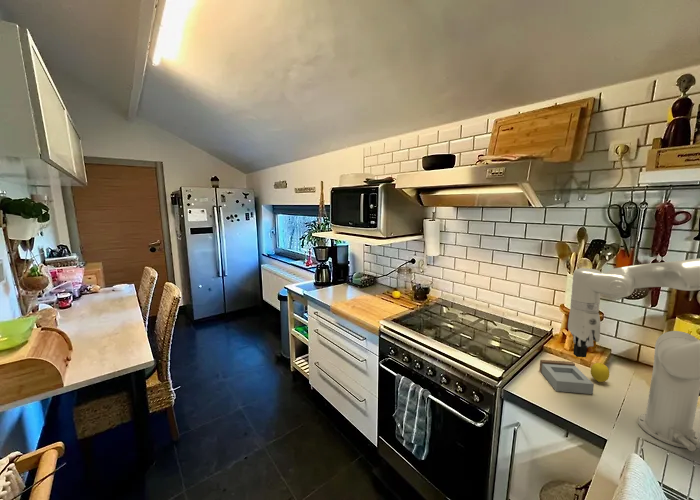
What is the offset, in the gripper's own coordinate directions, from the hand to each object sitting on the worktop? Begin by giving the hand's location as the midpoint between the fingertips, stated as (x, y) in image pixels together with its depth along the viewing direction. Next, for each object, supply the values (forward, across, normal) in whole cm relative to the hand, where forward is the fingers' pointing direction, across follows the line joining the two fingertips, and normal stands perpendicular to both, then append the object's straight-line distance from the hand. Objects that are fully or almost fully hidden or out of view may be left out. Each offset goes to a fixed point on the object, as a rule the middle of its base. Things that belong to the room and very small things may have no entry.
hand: (579, 355), depth 101 cm
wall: (+17, +17, -2) cm, 24 cm away
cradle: (+17, +10, -2) cm, 20 cm away
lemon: (+17, +13, -15) cm, 26 cm away
